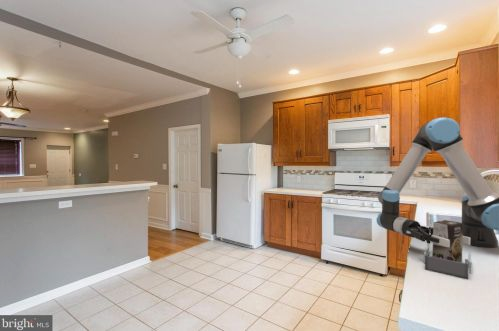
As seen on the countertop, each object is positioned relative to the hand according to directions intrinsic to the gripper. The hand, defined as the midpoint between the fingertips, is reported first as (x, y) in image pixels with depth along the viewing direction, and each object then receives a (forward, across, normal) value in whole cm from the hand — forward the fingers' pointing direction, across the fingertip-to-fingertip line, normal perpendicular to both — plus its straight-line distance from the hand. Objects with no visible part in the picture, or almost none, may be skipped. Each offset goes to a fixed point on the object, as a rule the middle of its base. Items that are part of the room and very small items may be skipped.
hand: (459, 242), depth 95 cm
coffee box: (-4, 0, -10) cm, 11 cm away
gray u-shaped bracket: (-3, +2, -10) cm, 10 cm away
